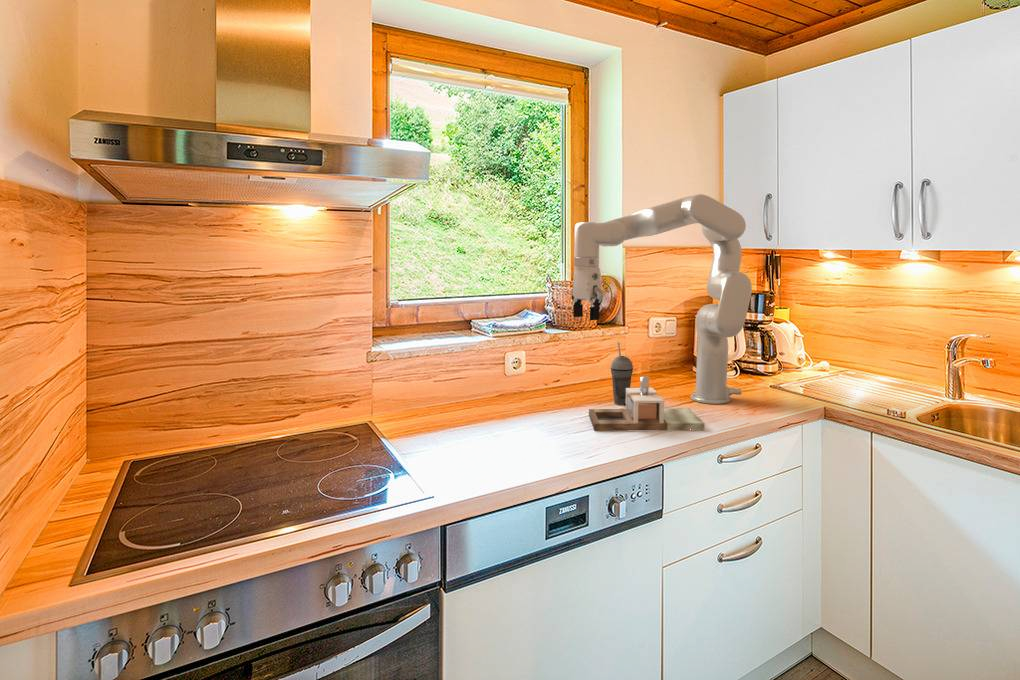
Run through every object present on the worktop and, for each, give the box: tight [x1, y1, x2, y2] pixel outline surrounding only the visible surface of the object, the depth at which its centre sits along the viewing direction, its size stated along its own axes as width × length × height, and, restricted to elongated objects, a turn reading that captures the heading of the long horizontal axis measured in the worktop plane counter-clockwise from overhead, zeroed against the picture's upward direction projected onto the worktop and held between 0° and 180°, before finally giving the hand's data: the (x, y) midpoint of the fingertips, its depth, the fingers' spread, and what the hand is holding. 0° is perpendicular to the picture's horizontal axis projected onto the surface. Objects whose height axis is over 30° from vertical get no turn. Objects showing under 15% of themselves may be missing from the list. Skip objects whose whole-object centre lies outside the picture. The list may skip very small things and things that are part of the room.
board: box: [588, 408, 705, 432], centre depth 160 cm, size 30×14×2 cm, turn 88°
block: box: [633, 401, 657, 419], centre depth 160 cm, size 6×6×4 cm
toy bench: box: [625, 387, 665, 423], centre depth 160 cm, size 8×14×6 cm, turn 178°
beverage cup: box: [610, 341, 634, 406], centre depth 180 cm, size 7×7×20 cm
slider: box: [627, 375, 660, 419], centre depth 159 cm, size 8×7×11 cm
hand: (586, 318), depth 174 cm, fingers open, 9 cm apart
